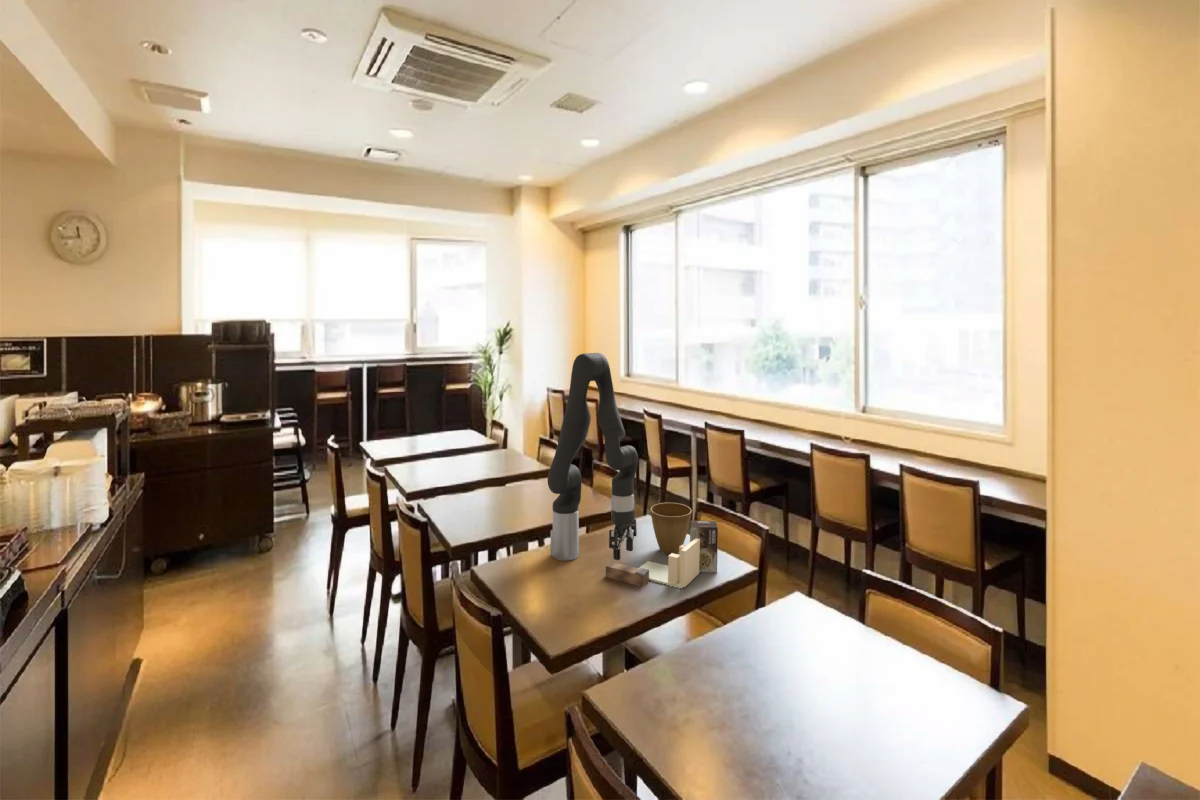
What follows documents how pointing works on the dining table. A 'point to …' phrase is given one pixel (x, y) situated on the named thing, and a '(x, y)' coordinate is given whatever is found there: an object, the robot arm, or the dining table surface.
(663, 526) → the plant pot
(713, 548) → the coffee box
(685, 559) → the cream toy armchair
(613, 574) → the rail
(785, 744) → the dining table surface
